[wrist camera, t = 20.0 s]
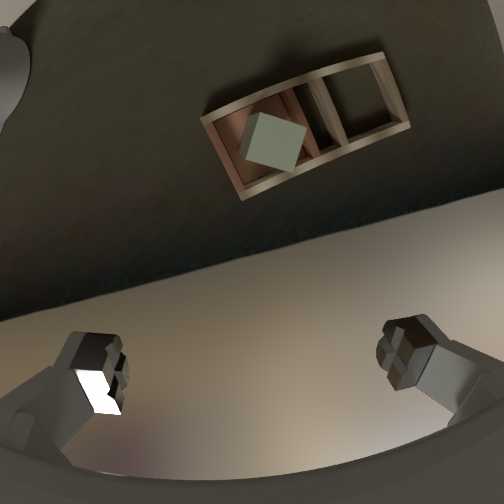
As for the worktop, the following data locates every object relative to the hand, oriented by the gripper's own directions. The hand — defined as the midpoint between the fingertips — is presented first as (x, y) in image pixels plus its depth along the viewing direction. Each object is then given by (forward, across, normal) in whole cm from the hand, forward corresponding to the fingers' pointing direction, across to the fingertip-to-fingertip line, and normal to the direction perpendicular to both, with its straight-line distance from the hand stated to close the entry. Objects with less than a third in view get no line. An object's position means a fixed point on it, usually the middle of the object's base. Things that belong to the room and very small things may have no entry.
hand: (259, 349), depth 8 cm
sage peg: (+31, -4, -5) cm, 32 cm away
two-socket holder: (+31, -11, -8) cm, 34 cm away
